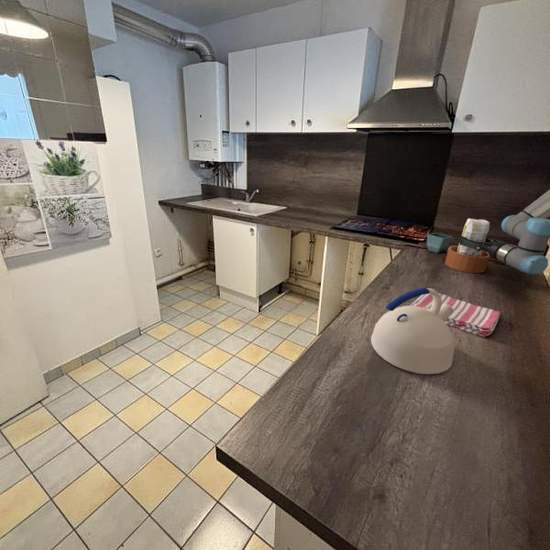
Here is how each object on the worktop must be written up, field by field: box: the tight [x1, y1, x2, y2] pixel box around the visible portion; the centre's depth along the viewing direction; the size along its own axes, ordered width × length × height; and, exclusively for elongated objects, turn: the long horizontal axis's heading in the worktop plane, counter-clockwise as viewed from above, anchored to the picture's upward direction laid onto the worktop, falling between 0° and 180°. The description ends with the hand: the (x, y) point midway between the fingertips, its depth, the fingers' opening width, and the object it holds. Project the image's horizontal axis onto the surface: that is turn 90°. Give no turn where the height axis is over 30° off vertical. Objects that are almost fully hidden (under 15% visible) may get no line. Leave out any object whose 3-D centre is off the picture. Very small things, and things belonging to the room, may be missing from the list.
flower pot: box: [426, 232, 452, 254], centre depth 156 cm, size 9×9×9 cm
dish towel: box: [409, 292, 502, 338], centre depth 95 cm, size 17×23×4 cm
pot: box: [444, 245, 491, 274], centre depth 137 cm, size 17×17×8 cm
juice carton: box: [457, 218, 490, 257], centre depth 133 cm, size 8×9×19 cm
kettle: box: [370, 287, 456, 375], centre depth 75 cm, size 20×21×18 cm
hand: (466, 237), depth 137 cm, fingers closed on juice carton, 9 cm apart
